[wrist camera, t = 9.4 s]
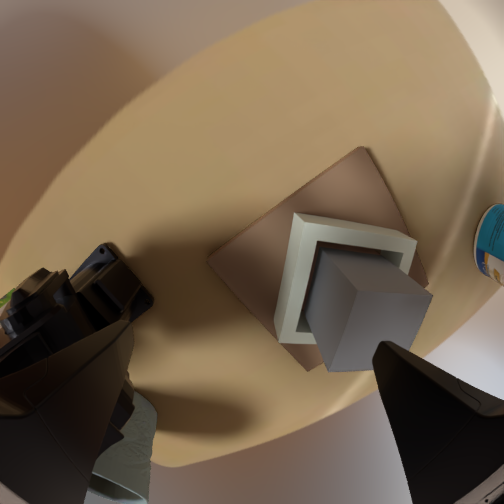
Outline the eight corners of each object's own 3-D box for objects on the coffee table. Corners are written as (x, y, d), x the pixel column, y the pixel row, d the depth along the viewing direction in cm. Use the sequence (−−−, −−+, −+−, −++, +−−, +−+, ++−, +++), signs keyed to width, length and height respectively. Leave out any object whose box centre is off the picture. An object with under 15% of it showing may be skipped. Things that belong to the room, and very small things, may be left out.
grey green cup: (147, 380, 24) (118, 477, 13) (175, 433, 28) (163, 512, 16) (73, 375, 24) (33, 450, 13) (108, 426, 27) (85, 494, 16)
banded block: (355, 305, 21) (400, 367, 14) (299, 302, 21) (328, 372, 13) (372, 248, 20) (432, 295, 12) (313, 240, 19) (357, 290, 12)
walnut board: (305, 364, 24) (307, 371, 23) (207, 256, 20) (206, 261, 19) (423, 279, 22) (428, 284, 21) (357, 146, 18) (363, 146, 17)
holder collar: (367, 324, 22) (381, 343, 19) (273, 320, 21) (278, 342, 18) (396, 230, 19) (417, 241, 16) (294, 212, 19) (304, 222, 16)
